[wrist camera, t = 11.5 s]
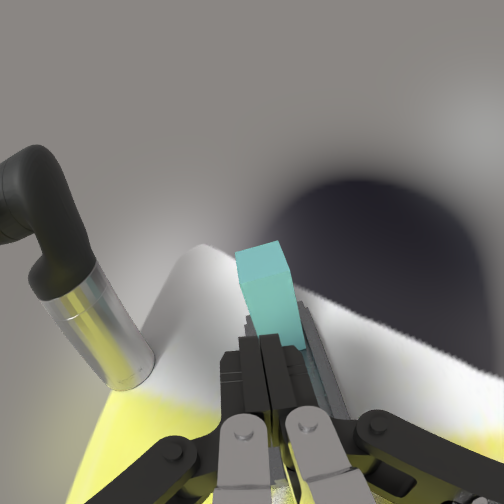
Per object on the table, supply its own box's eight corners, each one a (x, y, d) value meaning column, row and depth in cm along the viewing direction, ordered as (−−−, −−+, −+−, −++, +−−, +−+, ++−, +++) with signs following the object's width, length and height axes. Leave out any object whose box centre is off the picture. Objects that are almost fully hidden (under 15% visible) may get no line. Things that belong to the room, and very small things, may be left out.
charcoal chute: (363, 464, 24) (365, 455, 22) (273, 488, 24) (267, 482, 22) (308, 315, 43) (306, 299, 42) (247, 332, 43) (241, 317, 42)
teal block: (306, 348, 36) (289, 270, 30) (266, 359, 37) (239, 284, 30) (295, 316, 42) (277, 240, 35) (259, 326, 42) (234, 252, 35)
